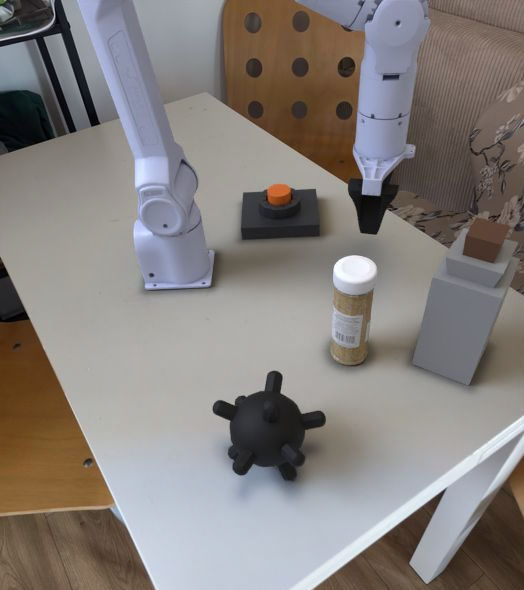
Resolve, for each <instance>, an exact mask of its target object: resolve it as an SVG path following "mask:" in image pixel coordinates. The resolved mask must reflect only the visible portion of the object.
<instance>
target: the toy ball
mask: <svg viewBox="0 0 524 590" xmlns="http://www.w3.org/2000/svg"><path fill="white" fill-rule="evenodd" d="M283 380H284V376H283V374H282V373H281V372H280V371H279V370H271V371H269V372H267V375H266V379H265V385H264V390H259V391H256V392H254V393H251V394H249V395H247V396H246V395H245V394H243V395H238V396H237V397H236V398H235V399H234V404H232V403H230V402H228V401H225V400H223V399H218V400H216V401H215V402H214V403H213V405H212V409H211V410H212V413H213V414H214V415H216V416H218V417H220V418H223V419H225V420H227V421H229V434H230V435H229V438H230V441H231V445H230V446H229V447H228V449H227V455H228V457H229V459H230V460H232V461H233V462H232V465H231V466H232V467H231V469H232V471H233V472H234V474H236V475H237V476H246V475H247V474H248V472H249V471H250V470H251V469H252V467H253V466H254V465H255V466H257V467H259V468H274V467H277V469H278V472H279V474H280V476H281V477H282V479H283V481H285V482H292V481H294V480H295V479H296V478H297V476H298V473H297V468H299V467H302V466H303V465H304V464H305V462H306V455H305V453H304V452H303V451H302V450H301V448H302V446H303V443H304V440H305V437H306V436H305V435H306V431H308V430H313V429H317V428H318V429H319V428H322V427H324V426H325V425H326V422H327V417H326V414H325V412H323V411H322V410H313V411H309V412H308V411H307V412H305V413H302V412H301V409H300V408H299V406H298V404H297V403H296V402H295V401H294V400H293V399H292V398H290V397H288V396H287V395H285V394H284V393H281V392H282V385H283Z"/></svg>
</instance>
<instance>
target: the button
mask: <svg viewBox="0 0 524 590" xmlns="http://www.w3.org/2000/svg"><path fill="white" fill-rule="evenodd" d="M290 188H291V187H290V186H289V185H287V184H285V183H275V184H272V185H270V186H269V187H268V188H267V189H268V190H267V195H268V202H269V204H273V205H284V204H287V203H289V202H290V201H291V189H290Z"/></svg>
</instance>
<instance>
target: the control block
mask: <svg viewBox="0 0 524 590" xmlns="http://www.w3.org/2000/svg"><path fill="white" fill-rule="evenodd" d="M290 189H291V201H290V202H289V203H287V204H284V205H273V204H269V202H268V195H267V190H268V188H266V189H264V190H261V191H247V192H246V191H245V192H242V202H241V203H242V204H241V219H240V220H241V221H240V222H241V223H240V233H241V240H242V241H247V240H265V239H266V240H267V239H269V240H270V239H288V238H289V239H290V238H309V237H310V238H311V237H321V235H320V234H321V231H320V230H321V223H320V214H319V205H318V194H317V189H316V188H302V189H295V188H293V187H290Z"/></svg>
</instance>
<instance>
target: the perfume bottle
mask: <svg viewBox="0 0 524 590" xmlns="http://www.w3.org/2000/svg"><path fill="white" fill-rule="evenodd" d="M511 227H512V226H511V225H507V224H504V223H500V222H496V221H492V220H489V219H484V218H480V217H475V219H474V221H473V222H472V224H471V226H470V227H469V228H465V227H463V228H462V230H461V231H460V233H459V235H458V236H457V238H456V240H454V241H453V243H452V244H451V246H450V247H449V249H448V251H447V252H446V254H445V256H444V257H443V259H442V260H441V262H440V264H439V266H438V267H437V268H436V271H435V272H434V274H433V275H432V277H431V280H430V281H431V282H430V286H429V289H428V294H427V298H426V302H425V308H424V311H423V315H422V320H421V323H420V328H419V332H418V337H417V341H416V345H415V350H414V354H413V357H412V358H413V359H412V363H411V364H412V365H413V366H416V367H419V368H422V369H425V370H426V371H429V372H432V373H434V374H436V375H439V376H442V377H445V378H447V379H450V380H452V381H455V382H458V383H460V384H463V385H466V386H470V384H471V382H472V379H473V377H474V375H475V373H476V371H477V368H478V366H479V364H480V362H481V360H482V357H483V355H484V353H485V352H486V349H487V346H488V344H489V341H490V338H491V336H492V334H493V331H494V328H495V325H496V323H497V321H498V318H499V316H500V313H501V310H502V309H503V308H502V307H503V305H504V302H505V300H506V297H507V295H508V292H509V289H510V287H511V284H512V282H513V279H514V276H515V274H516V271H517V269H518V266H519V263H520V261H521V258H519V257H515V256H513V255H514V253H515V251H516V248H517V246H518V245H519V242H518V241H514V240H511V239H506V238H507V235H508V234H509V231H510V229H511Z"/></svg>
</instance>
